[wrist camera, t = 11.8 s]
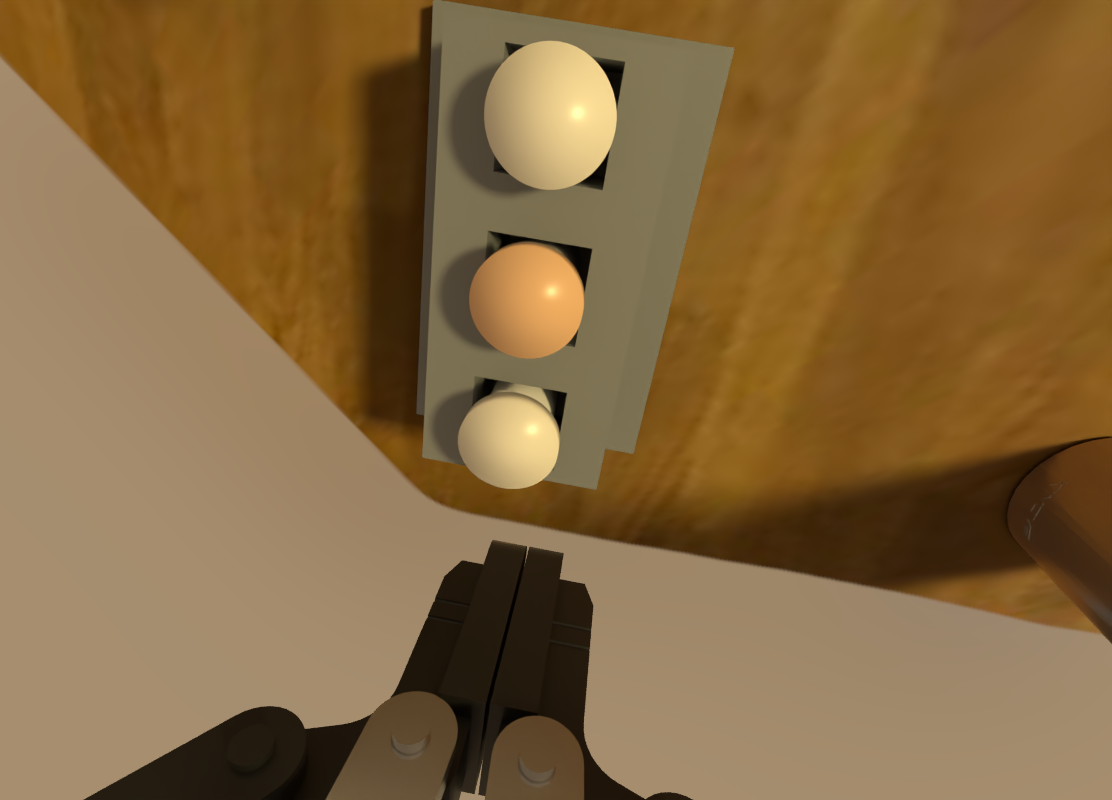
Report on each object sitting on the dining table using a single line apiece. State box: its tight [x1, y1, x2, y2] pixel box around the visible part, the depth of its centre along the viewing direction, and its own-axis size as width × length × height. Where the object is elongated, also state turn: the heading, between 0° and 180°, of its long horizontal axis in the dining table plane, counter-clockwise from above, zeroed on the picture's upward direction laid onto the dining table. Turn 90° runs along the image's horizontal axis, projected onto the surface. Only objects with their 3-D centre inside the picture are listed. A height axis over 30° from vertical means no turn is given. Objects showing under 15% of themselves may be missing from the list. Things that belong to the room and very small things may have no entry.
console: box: [416, 0, 735, 490], centre depth 28 cm, size 14×22×7 cm, turn 172°
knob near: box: [484, 41, 617, 190], centre depth 24 cm, size 5×5×8 cm
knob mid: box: [469, 237, 585, 359], centre depth 27 cm, size 5×5×8 cm
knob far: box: [458, 380, 560, 489], centre depth 30 cm, size 5×5×8 cm
